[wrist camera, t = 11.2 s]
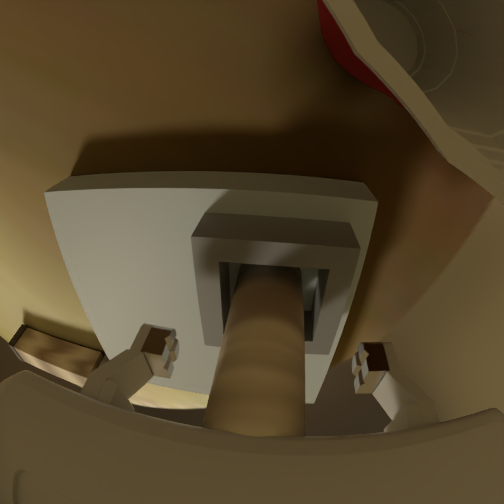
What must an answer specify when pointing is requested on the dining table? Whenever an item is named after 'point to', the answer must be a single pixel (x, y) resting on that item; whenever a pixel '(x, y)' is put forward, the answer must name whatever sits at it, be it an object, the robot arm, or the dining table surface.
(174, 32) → the dining table surface
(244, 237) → the stool seat
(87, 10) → the dining table surface
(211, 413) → the leg peg
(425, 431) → the robot arm
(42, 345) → the hinged leg
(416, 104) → the plastic cup
